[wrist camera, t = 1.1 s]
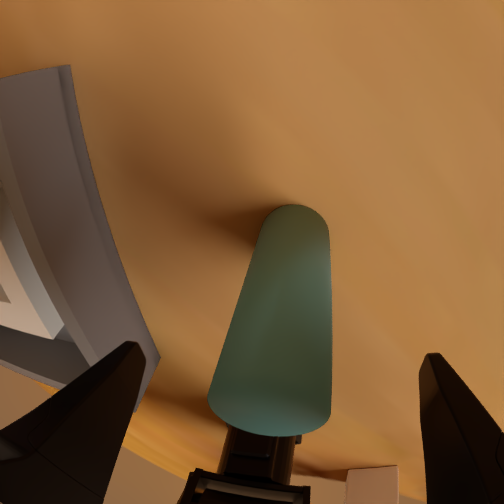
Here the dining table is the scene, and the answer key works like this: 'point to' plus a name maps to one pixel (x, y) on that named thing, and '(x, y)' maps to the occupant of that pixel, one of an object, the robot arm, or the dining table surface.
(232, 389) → the peg
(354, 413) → the dining table surface
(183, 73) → the dining table surface
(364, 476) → the milk
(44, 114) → the box
